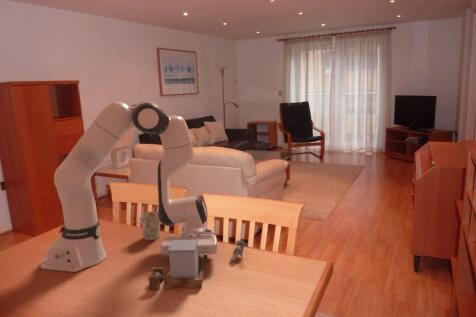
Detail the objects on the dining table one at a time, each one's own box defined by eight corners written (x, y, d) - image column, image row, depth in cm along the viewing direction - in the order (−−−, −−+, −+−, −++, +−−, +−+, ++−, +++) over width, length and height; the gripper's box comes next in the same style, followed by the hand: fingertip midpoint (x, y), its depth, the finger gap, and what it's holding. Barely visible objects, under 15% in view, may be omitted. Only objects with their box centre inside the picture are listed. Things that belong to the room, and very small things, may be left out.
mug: (164, 233, 154) (162, 211, 152) (155, 246, 142) (153, 223, 140) (145, 232, 155) (144, 211, 153) (135, 246, 143) (132, 222, 141)
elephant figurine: (219, 259, 131) (231, 242, 137) (231, 270, 131) (242, 252, 138) (232, 250, 124) (244, 233, 130) (245, 262, 124) (256, 244, 131)
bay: (149, 289, 113) (148, 277, 112) (163, 260, 131) (162, 249, 130) (201, 289, 112) (200, 276, 111) (207, 259, 130) (206, 248, 129)
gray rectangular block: (170, 285, 114) (167, 250, 112) (175, 273, 122) (172, 239, 119) (196, 285, 114) (194, 249, 111) (199, 272, 121) (197, 239, 119)
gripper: (164, 231, 133) (154, 248, 120) (218, 230, 132) (215, 247, 119) (165, 246, 134) (156, 265, 121) (219, 245, 134) (216, 264, 120)
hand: (186, 256), depth 120 cm, fingers closed, pressing on gray rectangular block
